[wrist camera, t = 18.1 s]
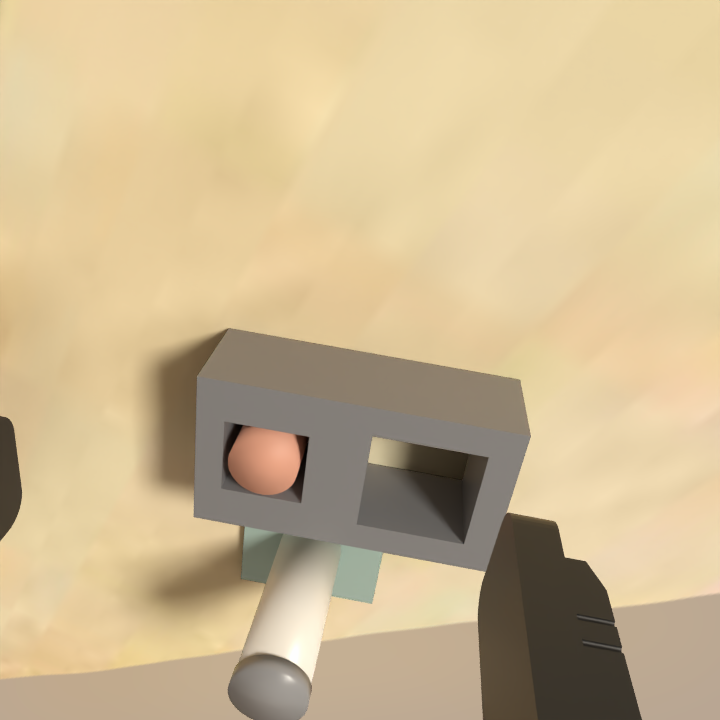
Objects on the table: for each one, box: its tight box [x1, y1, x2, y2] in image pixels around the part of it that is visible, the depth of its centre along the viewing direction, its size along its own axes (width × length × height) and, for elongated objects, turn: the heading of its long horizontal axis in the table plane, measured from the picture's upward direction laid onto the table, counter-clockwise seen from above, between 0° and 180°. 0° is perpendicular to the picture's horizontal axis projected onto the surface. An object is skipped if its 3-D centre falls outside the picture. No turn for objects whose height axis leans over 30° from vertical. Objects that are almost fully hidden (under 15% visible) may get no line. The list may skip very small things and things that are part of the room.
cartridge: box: [228, 534, 341, 720], centre depth 43 cm, size 5×5×12 cm
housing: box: [194, 328, 531, 572], centre depth 41 cm, size 18×10×6 cm, turn 82°
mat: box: [241, 527, 383, 604], centre depth 48 cm, size 10×9×1 cm
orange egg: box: [228, 425, 309, 495], centre depth 41 cm, size 4×4×6 cm
